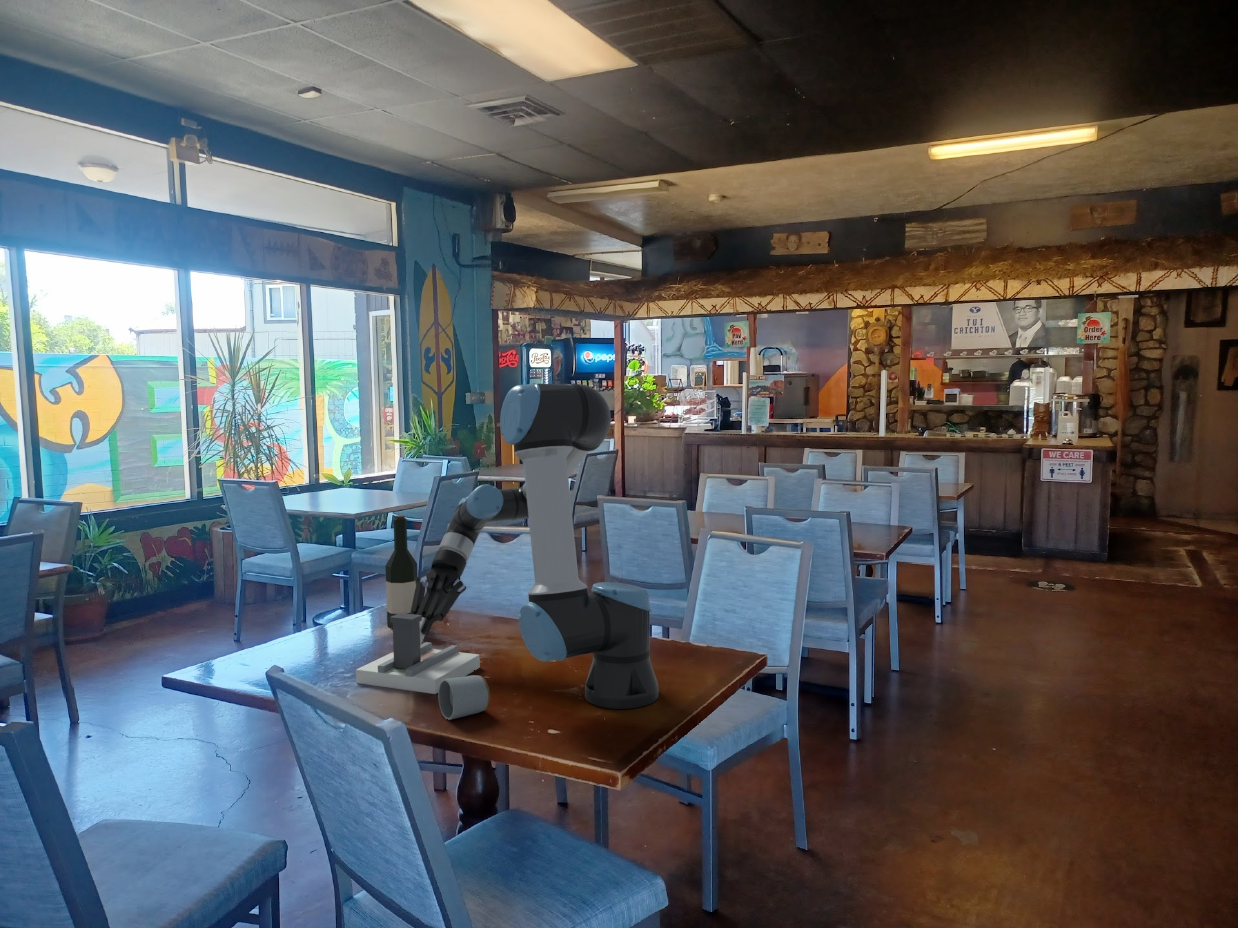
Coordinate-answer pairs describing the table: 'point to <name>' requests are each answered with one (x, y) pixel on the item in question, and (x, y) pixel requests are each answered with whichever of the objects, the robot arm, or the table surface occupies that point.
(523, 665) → the table surface
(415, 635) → the handle
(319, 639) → the table surface
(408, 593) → the wine bottle
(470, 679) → the ceramic mug
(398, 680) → the plate
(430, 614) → the robot arm
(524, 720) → the table surface
